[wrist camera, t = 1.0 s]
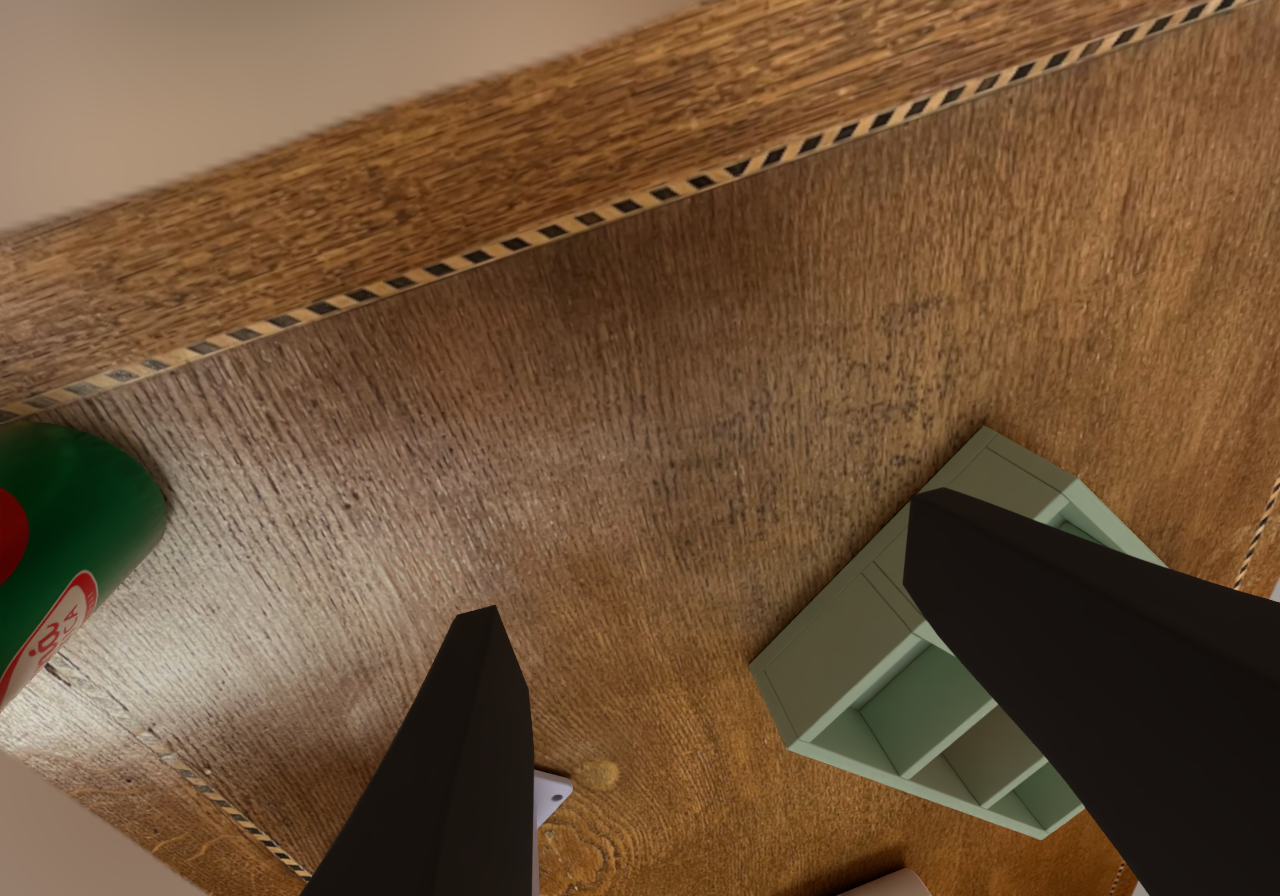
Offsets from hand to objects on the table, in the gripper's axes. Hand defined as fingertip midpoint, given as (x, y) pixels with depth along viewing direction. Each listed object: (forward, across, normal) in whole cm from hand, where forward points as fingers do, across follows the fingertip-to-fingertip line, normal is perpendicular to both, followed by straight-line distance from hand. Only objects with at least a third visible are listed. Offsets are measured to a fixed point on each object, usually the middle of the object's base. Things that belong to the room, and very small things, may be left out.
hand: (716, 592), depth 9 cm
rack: (+10, -16, +18) cm, 26 cm away
